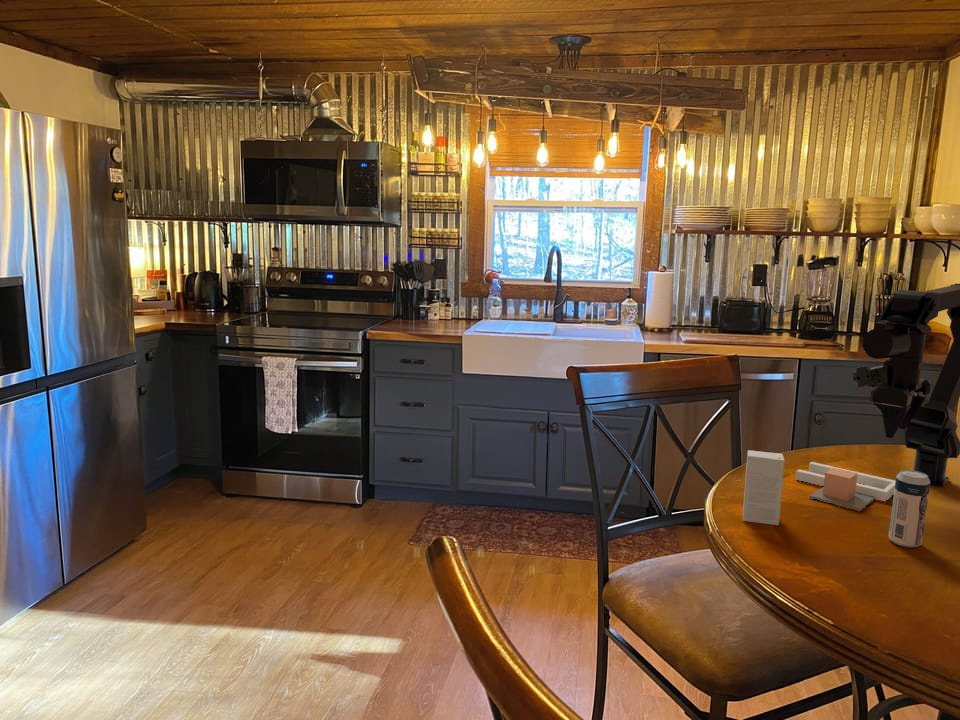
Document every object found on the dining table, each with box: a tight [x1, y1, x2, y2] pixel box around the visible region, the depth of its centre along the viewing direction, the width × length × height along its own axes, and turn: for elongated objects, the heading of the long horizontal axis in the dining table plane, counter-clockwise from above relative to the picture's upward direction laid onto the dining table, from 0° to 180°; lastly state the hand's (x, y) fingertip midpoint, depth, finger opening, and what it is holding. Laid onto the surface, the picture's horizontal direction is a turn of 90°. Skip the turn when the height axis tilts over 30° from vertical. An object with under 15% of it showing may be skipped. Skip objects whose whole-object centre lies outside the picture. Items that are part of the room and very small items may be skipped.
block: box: [823, 467, 858, 501], centre depth 138 cm, size 4×4×4 cm
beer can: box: [887, 469, 931, 549], centre depth 117 cm, size 5×5×12 cm
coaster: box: [809, 487, 875, 510], centre depth 138 cm, size 9×9×1 cm
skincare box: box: [742, 449, 786, 526], centre depth 126 cm, size 6×4×12 cm
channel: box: [795, 461, 896, 502], centre depth 145 cm, size 9×17×2 cm, turn 46°
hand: (895, 433), depth 141 cm, fingers open, 9 cm apart
